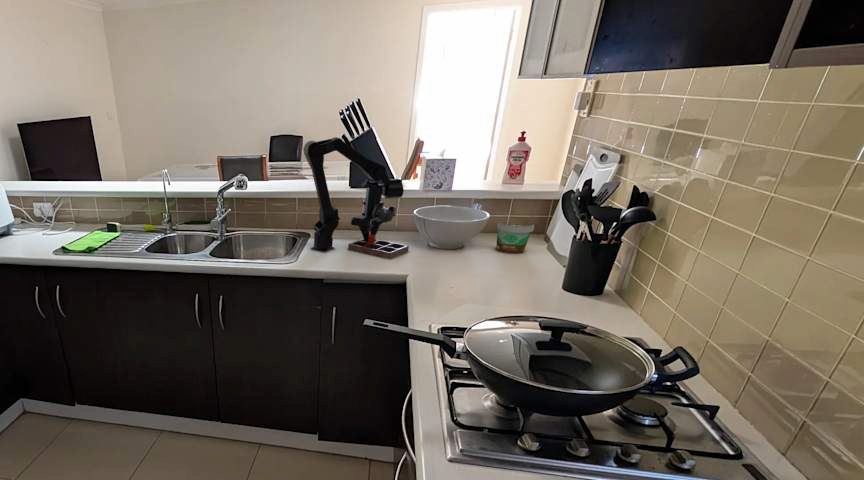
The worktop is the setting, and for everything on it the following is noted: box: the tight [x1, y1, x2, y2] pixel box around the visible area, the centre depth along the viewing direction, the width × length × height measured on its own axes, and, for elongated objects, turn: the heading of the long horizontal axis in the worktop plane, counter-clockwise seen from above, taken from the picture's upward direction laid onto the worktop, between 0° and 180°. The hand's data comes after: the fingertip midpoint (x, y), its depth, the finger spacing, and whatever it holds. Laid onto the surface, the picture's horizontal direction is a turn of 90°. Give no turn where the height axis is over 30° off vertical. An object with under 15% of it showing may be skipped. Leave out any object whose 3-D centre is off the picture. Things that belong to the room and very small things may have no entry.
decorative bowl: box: [413, 205, 490, 250], centre depth 192 cm, size 27×27×12 cm
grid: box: [347, 238, 410, 260], centre depth 190 cm, size 18×12×2 cm
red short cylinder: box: [364, 233, 376, 243], centre depth 194 cm, size 4×4×3 cm
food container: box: [495, 221, 535, 255], centre depth 181 cm, size 12×6×10 cm, turn 68°
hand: (369, 240), depth 195 cm, fingers closed on red short cylinder, 4 cm apart
